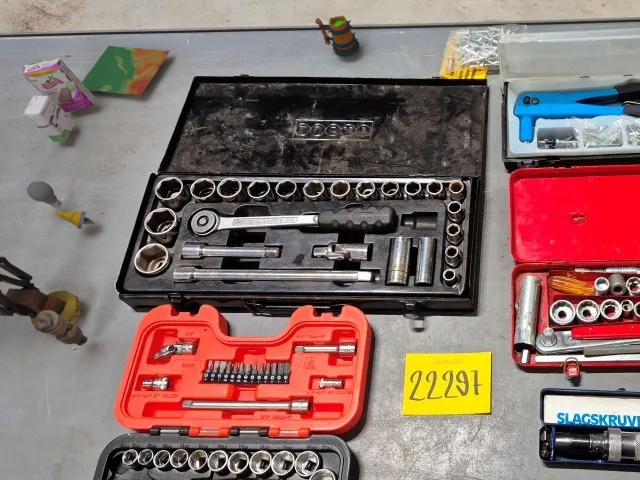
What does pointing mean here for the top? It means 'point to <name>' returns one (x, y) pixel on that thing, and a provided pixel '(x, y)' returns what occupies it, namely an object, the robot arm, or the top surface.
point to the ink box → (49, 118)
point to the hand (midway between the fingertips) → (41, 308)
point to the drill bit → (75, 218)
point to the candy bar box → (59, 84)
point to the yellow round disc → (66, 306)
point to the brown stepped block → (35, 300)
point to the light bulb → (43, 193)
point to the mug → (340, 36)
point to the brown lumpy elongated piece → (59, 328)
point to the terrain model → (124, 70)
